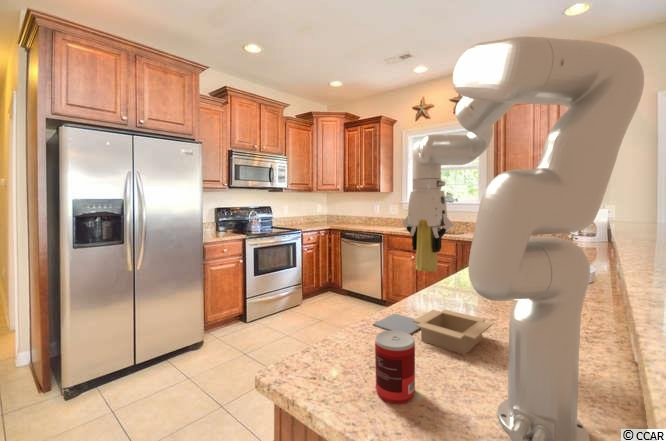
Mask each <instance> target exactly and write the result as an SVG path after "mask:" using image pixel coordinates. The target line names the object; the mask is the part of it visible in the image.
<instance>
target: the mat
mask: <svg viewBox="0 0 666 441" xmlns="http://www.w3.org/2000/svg"><path fill="white" fill-rule="evenodd" d="M415 319H416V318H413V317H409V316H405V315H403V314H399V313H393V314H392V315H388V316H387V317H384V318H382V319H381V320H378V321H376V322H374V323H372V327H376V328H380V329H383V330H384V331H389V330H396V331H402V332H405V333H408V334H410V335H411V336H412V335H413V334H414V333H416V332H418V331H419V330H420V331H421V328H418V327H416V325H418V324H419V323H415V322H413V320H415Z"/></svg>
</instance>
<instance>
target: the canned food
mask: <svg viewBox="0 0 666 441" xmlns="http://www.w3.org/2000/svg"><path fill="white" fill-rule="evenodd" d="M374 338H375V339H374V344H375V345H374V355H375V360H374V361H375V362H374V364H375V366H374V368H375V390H376V392H377V395H378V397H379V398H381V399H382V400H383V401H385V402H387V403H390V404H396V405H397V404H398V405H401V404H405V403H408V402H411V400H412V399H413V397H414V394H415V391H416V346H415V345H416V344H415V343H416V342H415V338H414V336H413V335H412V334H411V335H410V334H408V333H405V332H402V331H396V330H389V331H388V330H384V331H381V332H379V333H377V334H376V335H375V337H374Z"/></svg>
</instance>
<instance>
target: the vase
mask: <svg viewBox="0 0 666 441" xmlns="http://www.w3.org/2000/svg"><path fill="white" fill-rule="evenodd" d="M433 238H435V236H434V233H433V230H432V227H429V226H427V220H419V225H418V226H417V250H415V251H416V254H415V270H417V271H420V272H430V273H431V272H436V271H438V269H439V266H438V252H436V253H434V252H433Z"/></svg>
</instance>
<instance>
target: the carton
mask: <svg viewBox="0 0 666 441" xmlns="http://www.w3.org/2000/svg"><path fill="white" fill-rule="evenodd" d="M414 319H415V320H413V322H415V323H419V324H418V325H416V327H418V328H421V329H420V331H421V335H420V336H421V337H420V338H421V339H420V340H421V342H424V343H427V344H429V345H433V346H436V347H439V348H442V349H445V350H448V351H451V352H455V353H456V354H460V355H464V356H465V355H466V354H467V353H469V351H471V350H472V349H473V348H474V347H476V346H477V344H479V343H480V342H481V341H482V340H483V334H484V333H485V332H486V331H487V330H489V329H490V328H491V327H492V326H493V323H489V322H486V318H483V317H479V316H474V315H471V314H467V313H462V312H457V311H453V310H449V309H444V310H441V311H440V310H437V309H432V310H429V311H428V312H425V314H422V315H420V316H419V317H417V318H414Z"/></svg>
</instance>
